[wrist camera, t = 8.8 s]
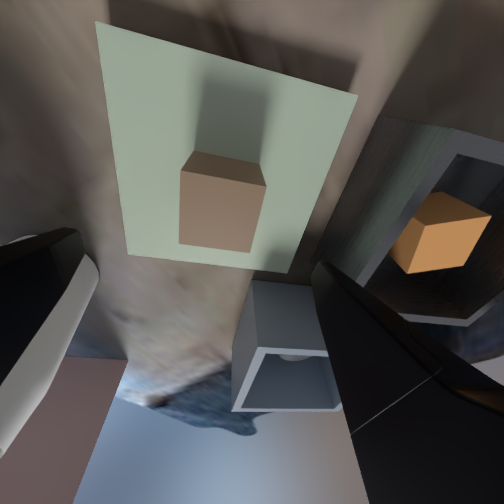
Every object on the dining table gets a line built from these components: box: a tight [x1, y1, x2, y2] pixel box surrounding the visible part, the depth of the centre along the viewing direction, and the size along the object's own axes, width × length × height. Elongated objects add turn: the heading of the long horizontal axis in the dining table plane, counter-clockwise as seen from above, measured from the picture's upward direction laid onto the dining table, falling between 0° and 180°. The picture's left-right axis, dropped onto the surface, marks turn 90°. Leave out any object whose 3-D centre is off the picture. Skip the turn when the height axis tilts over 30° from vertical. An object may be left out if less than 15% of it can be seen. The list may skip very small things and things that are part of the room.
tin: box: [310, 116, 504, 326], centre depth 16 cm, size 12×12×6 cm
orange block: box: [388, 192, 491, 274], centre depth 16 cm, size 4×4×4 cm
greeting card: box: [0, 356, 128, 504], centre depth 22 cm, size 11×7×15 cm, turn 39°
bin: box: [232, 280, 343, 412], centre depth 23 cm, size 12×12×7 cm
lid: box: [95, 21, 358, 273], centre depth 14 cm, size 13×13×6 cm
